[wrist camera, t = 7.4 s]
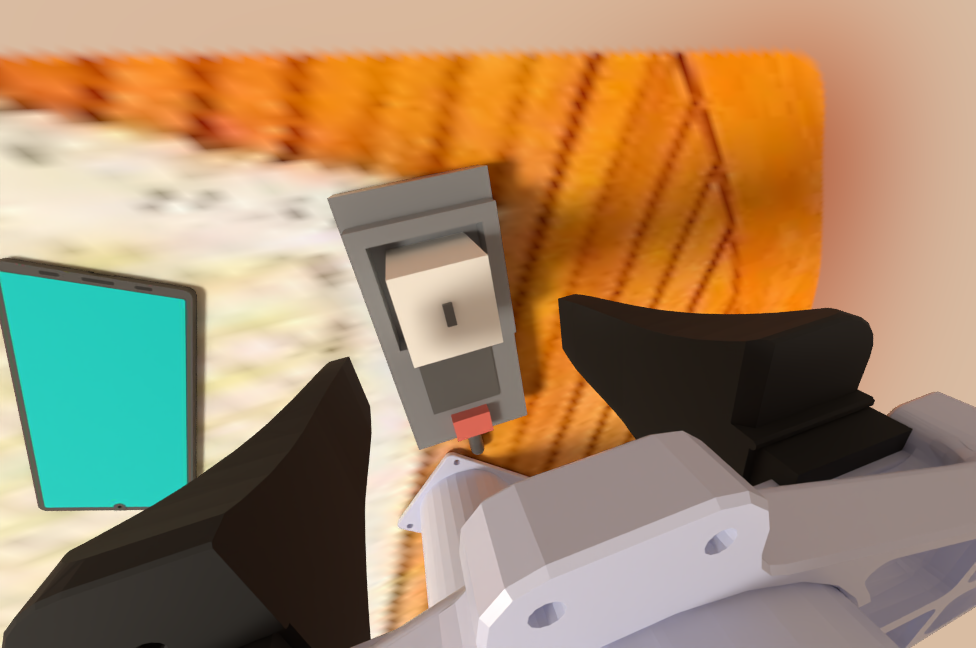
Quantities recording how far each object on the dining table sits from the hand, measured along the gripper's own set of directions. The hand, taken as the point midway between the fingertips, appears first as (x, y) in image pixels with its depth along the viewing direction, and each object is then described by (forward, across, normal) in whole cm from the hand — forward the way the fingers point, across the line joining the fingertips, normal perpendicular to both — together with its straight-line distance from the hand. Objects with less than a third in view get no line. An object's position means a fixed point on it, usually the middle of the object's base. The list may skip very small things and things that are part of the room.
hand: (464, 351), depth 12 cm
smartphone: (+10, +18, +3) cm, 21 cm away
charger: (+8, 0, 0) cm, 8 cm away
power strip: (+10, 0, +5) cm, 11 cm away
